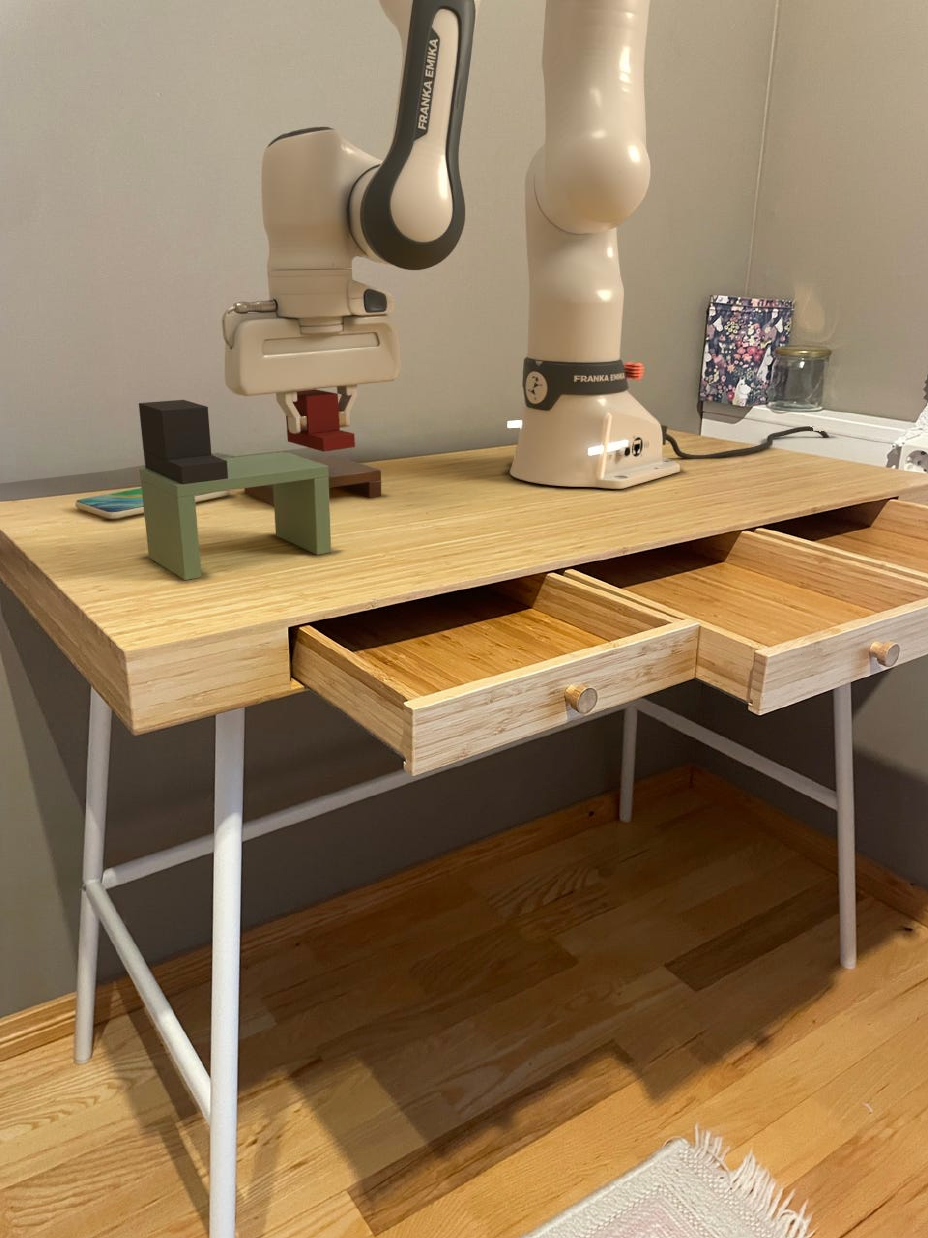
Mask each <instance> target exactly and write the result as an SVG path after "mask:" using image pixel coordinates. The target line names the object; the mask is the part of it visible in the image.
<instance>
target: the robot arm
mask: <svg viewBox="0 0 928 1238" xmlns="http://www.w3.org/2000/svg"><path fill="white" fill-rule="evenodd" d="M378 2H379V5H380V7H381V9H382V11H383V13H384V14H385V16H386V18H387V19H388V20H389V21H390V23H391V24H392V25H393V26H394V27H395V28H396V30H397V31H398V34H399V37H400V43H401V48H402V49H401V51H402V60H401V62H402V63H401V71H400V78H399V85H398V94H397V102H396V109H395V117H394V124H393V132H392V137H391V138H392V139H391V142H390V146H389V148H388V151H387V153H386V155H385V157H384V159H383V160H382V159H380V158H377V157H375V156H373V155H371V154H369V153H367V152H366V151H364V150H362V149H360V148H359V147H358V146H355V145H354V144H352V142H350V141H349V140H347V139H345V138H344V137H343V136H342V135H341V134H340V132H338V131H337V129H335V128H332V127H329V126H312V127H306V128H302V129H297V130H292V131H289V132H287V133H286V132H285V133H281V134H280V135H279V136H277V137H276V138H274V139H273V140H272V141H271V142H269V144H267V146H266V148H265V149H264V152H263V154H262V155H263V156H262V161H261V174H260V175H261V176H260V177H261V179H260V180H261V183H260V184H261V185H260V187H261V209H262V210H261V211H262V223H263V228H264V230H265V233H266V237H267V241H268V258H267V262H266V263H267V264H266V270H267V271H266V273H267V285H268V298H269V299H268V300H257V301H256V300H255V301H236V302H234V303H233V305H232V306H230V307H228V308H227V309H226V310H225V311H224V313H223V315H222V317H221V327H222V329H221V330H222V337H223V340H224V342H225V346H224V347H225V348H224V382H225V386H226V387H227V389H229V390H230V392H231V393H232V394H234V395H238V396H243V397H253V396H261V395H272V394H275V397H276V402H277V403H278V405H279V407H280V408H281V410H282V411H283V413H284V414H285V417H286V416H288V427H289V431H290V432H291V433H294V434H297V433H304V432H307V430H308V426H307V416H302V415H300V414H299V413H298V411H297V409H296V408H295V406H294V404H293V402H296V401H297V391H303V390H312V389H316V390H321V389H327V388H328V389H329V388H336V393H337V394H338V395H340V398H339V399H338V406H339V424H340V429H342V428H349V427H350V425H351V417H350V411H351V410H352V409H353V406H354V404H355V401H356V399H357V397H358V394H359V393H358V386H359V385H366V384H375V383H384V382H394V381H396V380H397V379H398V376H399V375H400V373H401V369H402V355H401V354H402V353H401V342H400V334H399V329H398V325H397V322H396V321H395V319H394V318H393V317H392V316H391V315H389V314H391V313H393V312H394V310H395V297H394V295H393V294H392V293H390V292H388V291H385V290H383V289H380V288H377V287H373V286H371V285H369V284H365V283H362V282H360V281H358V280H355V279H353V269H352V268H353V264H352V263H353V260H354V258H356V257H360V258H364V259H367V260H369V261H371V262H373V263H378V264H384V265H388V266H389V265H390V266H394V267H396V268H399V269H403V270H407V271H423V270H427V269H430V268H433V267H435V266H437V265H439V264H440V263H441V262H443V261H444V260H445V259H446V258H448V257H449V256H450V255H451V253H453V252H454V250H455V248H456V247H457V245H458V244H459V242H460V240H461V237H462V235H463V231H464V227H465V224H466V223H465V222H466V202H465V196H464V191H463V185H462V178H461V173H460V162H459V158H460V157H459V154H460V153H459V152H460V143H461V136H462V135H461V134H462V126H463V119H464V111H465V105H466V97H467V91H468V84H469V83H468V82H469V76H470V67H471V62H472V61H471V60H472V52H473V51H472V50H473V43H474V41H473V40H474V35H475V32H476V31H475V30H476V27H477V21H478V17H479V11H480V7H481V3H482V0H378ZM650 5H651V0H545V10H544V22H543V23H544V24H543V36H542V37H543V38H542V52H541V53H542V54H541V55H542V56H541V69H542V73H543V82H544V83H543V86H544V102H545V103H544V108H545V109H544V111H545V112H544V113H545V115H544V116H545V138H544V139H545V140H544V144H543V145H542V146H540V147H539V149H538V150H537V151H536V152H535V154H534V155H533V156H532V158H531V159H530V162H529V163H528V167H527V170H526V174H525V179H524V211H525V212H524V213H525V214H524V215H525V239H526V256H527V267H528V268H527V269H528V271H527V272H528V287H529V288H528V291H529V292H528V319H527V320H528V322H527V323H528V324H527V351H526V352H527V353H526V357H524V359H523V365H522V367H523V368H522V380H521V381H522V384H521V385H522V386H521V387H522V391H523V398H524V400H523V407H522V408H523V409H522V411H521V412H522V414H521V419H520V420H508V421H507V428H508V429H512V428H513V429H514V428H519V432H518V439H517V442H516V443H517V444H516V448H515V453H514V456H513V460H512V463H511V466H510V470H509V475H511V476H512V477H513V478H515V479H518V480H522V481H525V482H529V483H534V484H540V485H548V486H555V487H556V486H557V487H572V488H573V487H577V488H578V487H580V488H581V487H583V488H585V487H586V488H601V489H612V490H613V489H614V490H621V489H627V488H629V487H633V486H636V485H639V484H643V483H647V482H649V481H653V480H656V479H659V478H663V477H666V476H669V475H673V474H677V473H679V472H681V465H680V463H678V462H677V461H675V460H672V459H670V458H667V457H664V456H663V447H664V446H666V444H667V443H666V442H668V443H669V444H670V445H671V448H672V450H673V452H674V454H675V455H676V456H677V457H678V458H682V459H684V460H706V459H721V458H727V457H733V456H738V455H746V454H752V453H756V452H760V451H762V450H764V449H765V450H766V449H767V448H770V447H771V446H772V445H773V443H774V439H776V438H781V437H785V436H790V435H792V434H798V433H801V432H802V433H803V432H813V433H817V434H819V435H820V436H822V438H824V439H830V436H829V434H828V433H827V431H825V430H824V431H821V432H819V431H813V428H812V427H813V426H812V427H810V425H806V426H805V425H804V426H798V427H794V428H790V429H789V428H788V429H785V430H782V431H781V430H780V431H776V432H773V433H770V434H769V435H767V438H766V439H767V440H766V441H765V442H764V443H761V444H759V445H758V444H757V445H755V446H750V447H745V448H744V447H743V448H738V449H737V448H736V449H731V450H725V451H720V452H715V453H709V454H690V453H685V452H683V451H682V450H681V449H680V448H679V446H678V445H679V444H678V443H677V441H676V439H675V438H674V437H673V436H671V434H668V433H667V431H668V425H665V424H660V422H659V420H658V419H657V418H655V417H654V415H652V414H651V413H650V412H649V411H648V410H647V409H646V408H645V407H644V406H643V405H642V404H641V403H640V402H639V401H638V400H637V399H636V398H635V397H634V396H633V395H632V394H631V393H630V392H629V391H628V390H629V388H630V387H629V382H628V380H630V379H632V380H636V381H640V380H641V379H642V378H643V377H644V375H645V367H644V364H643V363H642V362H632V361H627V362H626V363H625V364H624V363H623V361H622V359H621V345H622V344H621V343H622V329H623V328H622V327H623V314H624V299H625V289H624V283H623V280H622V276H621V267H620V259H619V248H618V247H619V245H618V231H617V230H618V227H619V226H620V225H622V224H623V223H625V222H626V221H627V220H628V219H629V218H630V217H631V216H632V215H633V214H634V212H636V210H637V209H638V207H639V206H640V205H641V203H642V202H643V200H644V198H645V196H646V194H647V191H648V189H649V186H650V181H651V174H652V173H651V169H652V168H651V161H650V157H649V153H648V151H647V119H646V118H647V116H646V115H647V113H646V98H645V57H646V48H647V47H646V46H647V37H648V36H647V35H648V26H649V17H650ZM232 312H234V313H232Z"/></svg>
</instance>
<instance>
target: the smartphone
mask: <svg viewBox="0 0 928 1238" xmlns="http://www.w3.org/2000/svg"><path fill="white" fill-rule="evenodd" d="M229 493H230V490H228V491H221V492H213V493H206V494H199V495H195V503H199V502H203V501H209V500H213V499H218V498H223V497H227V496H228V495H229ZM74 504H75V507H76V508H77V509H78V510H81V511H84V512H86V513H87V512H88V513H91V514H94V515H97V516H100V517H103V518H106V519H108V520H109V519H110V520H118V519H121V518H127V517H131V516H137V515H141V514H144V506H143V497H142V487H139V488H135V489H134V488H133V489H129V490H122V491H117V492H113V493H108V494H102V495H97V496H96V495H95V496H91V497H86V498H80V499H77V500H75V502H74Z"/></svg>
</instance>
